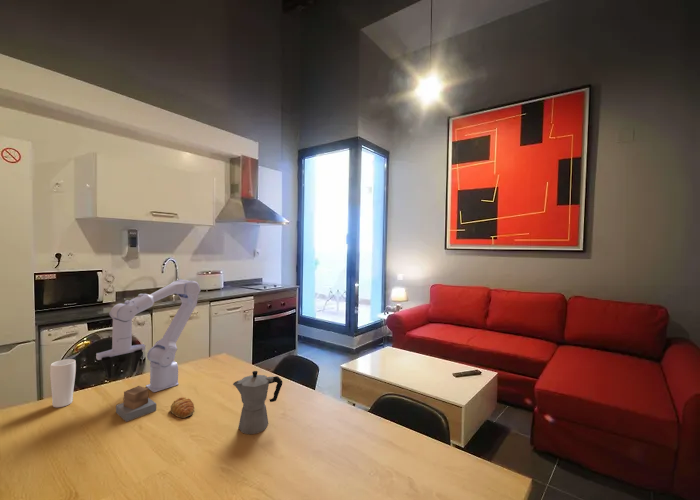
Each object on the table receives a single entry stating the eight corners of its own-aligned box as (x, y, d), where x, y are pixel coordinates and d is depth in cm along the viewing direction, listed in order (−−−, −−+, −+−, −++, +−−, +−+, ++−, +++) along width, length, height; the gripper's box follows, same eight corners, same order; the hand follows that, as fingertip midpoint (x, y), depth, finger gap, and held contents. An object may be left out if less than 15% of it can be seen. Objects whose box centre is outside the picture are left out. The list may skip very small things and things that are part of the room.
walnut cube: (138, 399, 112) (138, 385, 112) (148, 402, 110) (148, 388, 110) (123, 406, 108) (123, 391, 107) (133, 409, 106) (133, 394, 106)
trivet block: (145, 403, 116) (145, 395, 115) (156, 411, 110) (156, 403, 110) (115, 413, 108) (116, 405, 108) (126, 423, 103) (126, 414, 103)
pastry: (199, 414, 109) (199, 403, 109) (178, 422, 104) (178, 410, 104) (188, 404, 115) (188, 394, 115) (168, 411, 110) (168, 400, 110)
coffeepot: (230, 438, 96) (232, 379, 96) (232, 421, 105) (234, 367, 105) (282, 430, 101) (284, 374, 100) (280, 415, 110) (281, 363, 109)
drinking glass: (63, 409, 109) (63, 366, 109) (43, 408, 109) (44, 365, 109) (80, 400, 116) (81, 359, 115) (62, 399, 116) (62, 358, 115)
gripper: (140, 330, 124) (140, 365, 124) (94, 339, 112) (93, 377, 112) (147, 334, 119) (147, 370, 119) (100, 343, 108) (99, 382, 108)
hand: (121, 374), depth 116 cm, fingers open, 7 cm apart
